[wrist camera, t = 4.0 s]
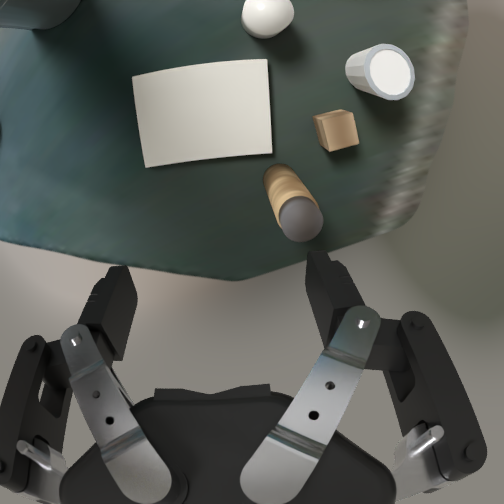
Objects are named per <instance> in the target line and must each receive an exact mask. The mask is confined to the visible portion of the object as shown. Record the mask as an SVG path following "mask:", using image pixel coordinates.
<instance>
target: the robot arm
mask: <svg viewBox="0 0 504 504" xmlns="http://www.w3.org/2000/svg"><path fill="white" fill-rule="evenodd" d="M80 1H81V0H0V27H2V28H15V29H25V30H32V29H34V28H36V29H50V28H53V27H55V26H58V25H59V24H61V23H62V22H64V21H65V20H66V19H67V18H68V17H69V16H70V15H71V14H72V13H73V12H74V10H75V9H76V8H77V6H78V4H79V3H80ZM305 285H306V292H307V295H308V298H309V301H310V304H311V307H312V310H313V314H314V317H315V320H316V323H317V326H318V329H319V332H320V336H321V339H322V342H323V345H324V348H325V349H324V350H323V351H322V353H321V355H320V356H319V358H318V360H317V362H316V363H315V365H314V367H313V369H312V370H311V372H310V374H309V375H308V377H307V379H306V380H305V382H304V384H303V385H302V387H301V389H300V390H299V392H298V393H297V395H296V397H295V398H293V397H291V396H289V395H286V394H283V393H278V392H272V391H270V384H262V385H251V386H240V387H237V388H233V389H230V390H226V391H223V392H219V393H215V394H204V393H199V392H195V391H190V390H185V389H157V388H156V389H155V393H154V397H150V398H147V399H144V400H142V401H140V402H138V403H137V404H134V403H133V401H132V400H131V398H130V397H129V395H128V393H127V392H126V390H125V388H124V387H123V385H122V383H121V382H120V380H119V378H118V376H117V375H116V373H115V371H114V369H113V368H112V363H113V361H122V360H123V355H124V351H125V348H126V344H127V340H128V336H129V332H130V328H131V325H132V321H133V317H134V314H135V310H136V307H137V299H138V298H137V292H136V289H135V286H134V283H133V281H132V277H131V275H130V272H129V269H128V267H127V266H126V265H125V266H112V267H110V268H109V270H108V272H107V274H106V276H105V278H101V279H100V280H99V281H98V282H97V283H96V285H94V287H93V289H92V292H91V295H90V296H89V298H88V300H87V301H88V302H87V303H86V305H85V307H84V309H83V312H82V314H81V316H80V319H79V321H78V323H77V324H76V325H73V326H71V327H69V328H68V329H67V330H65V331H64V333H63V334H62V336H61V339H60V340H56V341H52V342H48V343H46V341H45V340H44V338H43V337H42V336H39V335H34V336H31V337H30V338H28V339H27V340H25V342H24V343H23V345H22V346H21V349H20V351H19V353H18V356H17V359H16V361H15V364H14V367H13V369H12V372H11V375H10V378H9V381H8V383H7V387H6V390H5V393H4V396H3V399H2V403H1V406H0V485H1V486H3V487H6V488H7V489H9V490H11V491H12V492H14V493H16V494H19V495H21V496H23V497H25V498H28V499H31V500H34V501H37V502H40V503H43V504H395V502H396V501H399V500H402V499H405V498H407V497H410V496H413V495H416V494H418V493H421V492H423V493H432V492H434V491H437V490H439V489H441V488H443V487H446V486H448V485H450V484H452V483H454V482H456V481H458V480H460V479H463V478H464V477H466V476H468V475H470V474H472V473H474V472H476V471H477V470H479V469H480V468H481V467H482V466H483V464H484V462H485V460H486V457H487V447H486V443H485V440H484V437H483V435H482V432H481V429H480V426H479V424H478V421H477V418H476V416H475V413H474V410H473V408H472V405H471V403H470V400H469V398H468V396H467V393H466V391H465V389H464V386H463V384H462V382H461V380H460V378H459V375H458V373H457V371H456V369H455V367H454V365H453V363H452V360H451V358H450V356H449V354H448V352H447V350H446V348H445V346H444V344H443V342H442V340H441V338H440V336H439V334H438V332H437V331H436V329H435V327H434V325H433V323H432V321H431V320H430V319H429V317H427V316H426V315H425V314H423V313H421V312H418V311H409V312H407V313H405V314H404V315H403V316H402V318H401V320H392V319H383V318H380V316H379V314H378V313H377V312H376V311H375V310H373V309H371V308H370V307H367V306H365V303H364V301H363V299H362V297H361V295H360V293H359V292H358V290H357V288H356V286H355V284H354V283H353V280H352V278H351V277H350V274H349V273H348V271H347V269H346V267H345V266H344V265H343V264H341V263H340V262H339V261H337V260H336V261H331V260H330V258H329V256H328V254H327V252H326V251H325V250H320V251H309V252H308V255H307V266H306V277H305ZM364 369H372V370H382V371H383V374H384V376H385V379H386V383H387V386H388V389H389V392H390V395H391V398H392V401H393V405H394V408H395V411H396V415H397V418H398V421H399V425H400V429H401V432H402V436H403V438H402V439H401V440H400V441H399V442H398V444H397V445H396V447H395V452H394V455H395V462H394V466H393V468H392V470H391V471H390V470H389V469H388V468H387V467H386V466H385V465H384V464H382V463H381V462H380V461H378V460H377V459H375V458H374V457H373V456H371V455H370V454H368V453H367V452H366V451H364V450H363V449H361V448H360V447H359V446H357V445H356V444H355V443H353V442H352V441H350V440H349V439H348V438H346V437H345V436H344V435H342V434H341V433H340V432H338V431H337V430H336V428H337V426H338V424H339V422H340V420H341V418H342V416H343V413H344V412H345V410H346V408H347V405H348V403H349V401H350V399H351V397H352V395H353V393H354V390H355V388H356V386H357V384H358V381H359V379H360V377H361V374H362V372H363V370H364ZM42 381H43V382H44V383H45V385H44V388H43V392H42V396H41V399H40V402H39V399H38V393H39V390H40V386H41V382H42ZM73 392H74V394H75V397H76V399H77V402H78V404H79V406H80V409H81V411H82V413H83V415H84V418H85V420H86V422H87V424H88V426H89V428H90V430H91V432H92V434H93V436H94V438H95V440H96V443H95V444H94V445H93V446H92V447H91V448H90V449H89V450H88V451H87V452H86V453H85V454H84V455H83V456H81V458H79V459H78V460H77V462H76V463H74V464H73V466H72V467H70V468H69V469H68V467H67V466H66V461H65V459H64V457H63V456H62V448H63V441H64V435H65V429H66V423H67V418H68V412H69V407H70V402H71V398H72V393H73Z"/></svg>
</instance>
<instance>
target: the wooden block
mask: <svg viewBox="0 0 504 504" xmlns="http://www.w3.org/2000/svg"><path fill="white" fill-rule="evenodd" d="M312 117H313V120H314V124H315V128H316V131H317V135H318V139H319V143H320V145H321V146H323V147H324V148H325V149H327V150H328V151H334V150H338V149H341V148H345V147H349V146H352V145H356V144H359V140H358V135H357V131H356V126H355V122H354V117H353V113H351V112H348V111H344V110H341V109H340V110H336V111H332V112H328V113H323V114H320V115H316V116H312Z"/></svg>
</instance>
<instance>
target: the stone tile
mask: <svg viewBox="0 0 504 504" xmlns="http://www.w3.org/2000/svg"><path fill="white" fill-rule="evenodd" d="M132 82H133V90H134V98H135V106H136V113H137V120H138V127H139V133H140V139H141V145H142V151H143V157H144V162H145V167H146V168H147V167H153V166H160V165H166V164H173V163H180V162H187V161H194V160H202V159H211V158H220V157H230V156H240V155H252V154H266V153H272V139H271V118H270V100H269V83H268V67H267V59H255V60H238V61H225V62H215V63H206V64H198V65H191V66H185V67H178V68H172V69H167V70H162V71H156V72H152V73H147V74H142V75H138V76H134V77H132Z"/></svg>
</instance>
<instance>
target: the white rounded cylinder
mask: <svg viewBox="0 0 504 504" xmlns="http://www.w3.org/2000/svg"><path fill="white" fill-rule="evenodd" d="M293 16H294V9H293V6H292V3H291V2H290V1H289V0H246V2H245V4H244V7H243V12H242V16H241V24H242V26H243V28H244V30H245V31H246V32H247V33H248V34H250V35H251V36H253V37H256V38H262V39H266V38H271V37H274V36H275V35H277V34H278V33H280V32H281V31H282V30H283V29H284V28H286V27H287V26H288V25H289V24H290V23H291V21H292V19H293Z"/></svg>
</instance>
